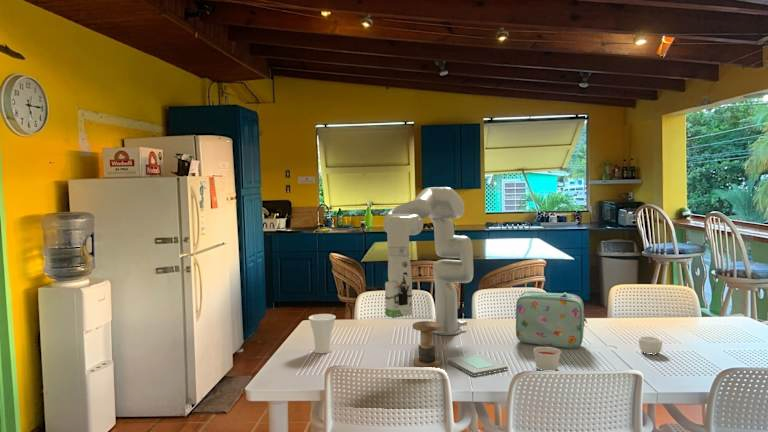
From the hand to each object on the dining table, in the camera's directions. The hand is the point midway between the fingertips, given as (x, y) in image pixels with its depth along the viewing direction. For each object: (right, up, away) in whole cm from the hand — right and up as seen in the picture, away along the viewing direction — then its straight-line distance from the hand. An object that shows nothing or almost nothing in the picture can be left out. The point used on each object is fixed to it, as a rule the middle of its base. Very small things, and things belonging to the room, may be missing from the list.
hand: (399, 302), depth 185 cm
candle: (+51, -23, -1) cm, 56 cm away
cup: (-29, -23, +22) cm, 43 cm away
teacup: (+95, -21, +15) cm, 98 cm away
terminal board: (+28, -23, +2) cm, 36 cm away
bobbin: (+10, -23, +6) cm, 26 cm away
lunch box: (+61, -21, +27) cm, 70 cm away
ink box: (0, -5, 0) cm, 5 cm away
